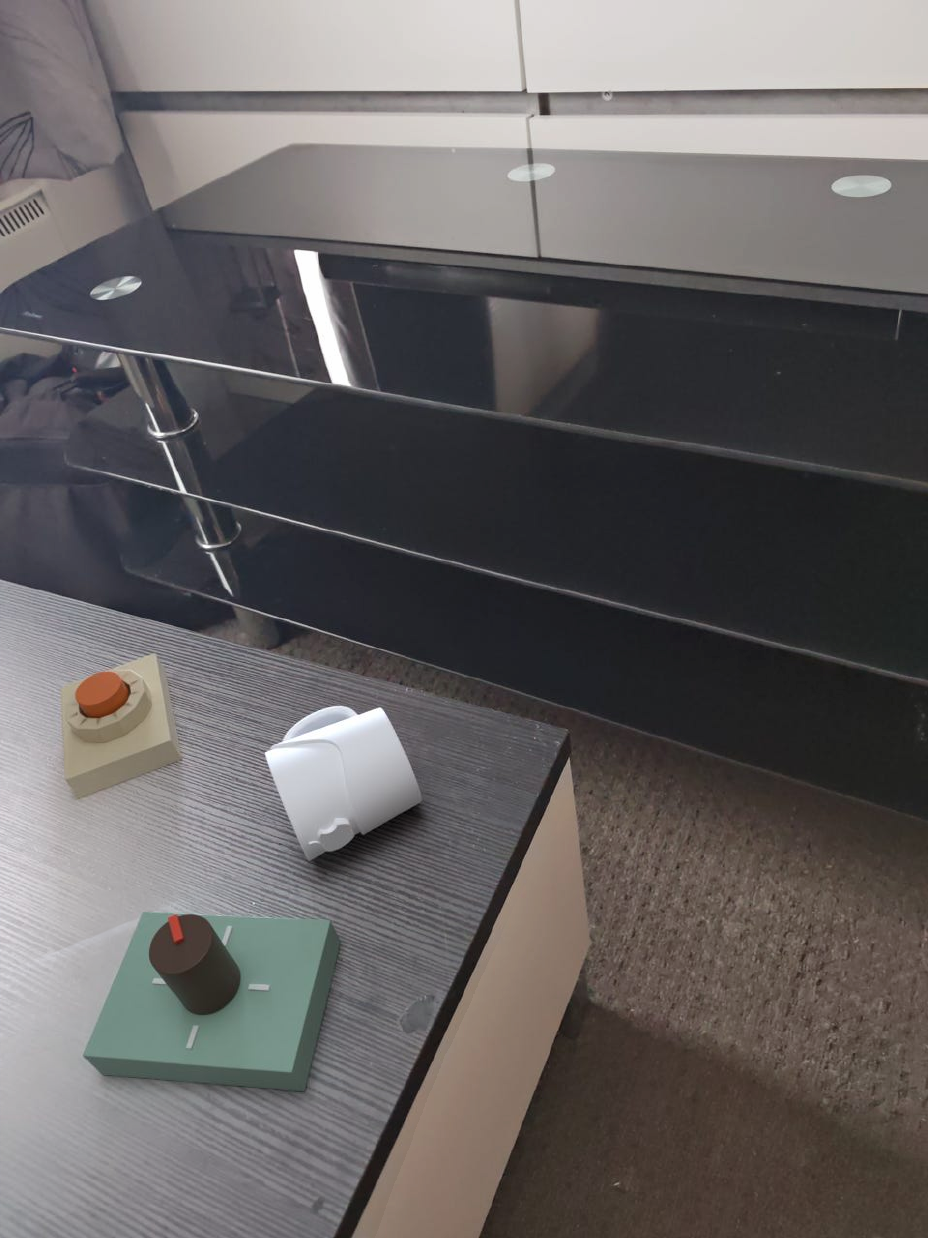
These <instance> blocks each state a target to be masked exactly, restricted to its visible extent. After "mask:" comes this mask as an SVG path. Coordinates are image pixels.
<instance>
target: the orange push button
mask: <svg viewBox="0 0 928 1238" xmlns="http://www.w3.org/2000/svg"><path fill="white" fill-rule="evenodd" d="M86 678H87V677H86ZM128 696H129V692H128V689H127V688H126V686H125V684H124V683H123V681H122V679H121V677H120V676H119V675H118V674H117V673H115V672H110V671H107V670H105V672H104V671H100V672H97V673H94V674H92V675H89V676H88V678H87V679H86V680H84V681H83V682H82V683H81V684H80V685H79V687H78V688H77V690H76V693H75V698H76V701H77V702H78V704H79V705H80V707H81V708H82V710H83V712H84V713H85V714H86V715H87V716H88V717H90V718H102V717H105V716H107V715H110V714H113V713H115V712H116V711H117V710H118V709H120V708H121V707H122V706H123V705H125V703H126V702H127V700H128Z"/></svg>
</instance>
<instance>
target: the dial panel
mask: <svg viewBox="0 0 928 1238" xmlns="http://www.w3.org/2000/svg"><path fill="white" fill-rule="evenodd" d="M175 914H177V916H180V915H184V914H185V913H179V912H157V911H155V912H154V911H143V912H142V913H141V915H140V918H139V921H138V923H137V925H136V927H135V930H134V932H133V934H132V936H131V937H132V938H131V940H130V942H129V944H128V946H127V949H126V952H125V954H124V956H123V959H122V961H121V964H120V966H119V969H118V971H117V973H116V975H115V978H114V980H113V983H112V985H111V987H110V990H109V992H108V994H107V996H106V999H105V1001H104V1004H103V1006H102V1009H101V1011H100V1014H99V1016H98V1018H97V1021H96V1023H95V1025H94V1027H93V1030H92V1033H91V1035H90V1037H89V1040H88V1042H87V1045H86V1047H85V1049H84V1052H83V1054H82V1057H83V1058H84V1059H85V1060H86V1061H87V1062H88V1063H89V1064H90V1065H91V1066H93V1068H95V1070H97V1072H98V1073H100V1074H101V1075H102V1076H114V1077H115V1076H116V1077H125V1078H139V1079H147V1080H149V1079H151V1080H161V1081H162V1080H163V1081H173V1082H186V1083H196V1084H198V1083H199V1084H207V1085H208V1084H211V1085H223V1086H233V1087H235V1086H236V1087H243V1088H245V1087H246V1088H258V1089H269V1090H270V1089H271V1090H281V1091H292V1092H305V1091H306V1088H307V1083H308V1080H309V1076H310V1071H311V1067H312V1064H313V1063H312V1062H313V1058H314V1056H315V1050H316V1047H317V1042H318V1039H319V1034H320V1030H321V1026H322V1021H323V1018H324V1013H325V1009H326V1006H327V1001H328V996H329V992H330V989H331V985H332V981H333V976H334V972H335V967H336V964H337V959H338V955H339V951H340V947H341V943H342V941H341V939H340V937H339V935H338V933H337V931H336V928H335V926H334V924H333V923H332V921H331V919H320V918H319V919H318V918H316V919H315V918H293V917H289V918H288V917H271V916H247V915H224V914H204V913H203V914H201V913H196V914H197V915H200V916H202V917H204V918H205V919H207V920H208V922H209V923H210V924H211V926H212V927H213V929H214V930H215V932H216V934H217V935H218V937H219V938H220V940H221V941H222V943H223V944H224V946H225V947H226V949H227V950H228V952H229V953H230V955H231V956H232V958H233V959H234V961H235V962H236V964H237V965H238V968H239V970H240V984H239V987H238V990H237V992H236V994H235V995H234V997H233V998H232V1000H231V1001H230V1002H229V1003H228V1004H227V1005H226V1006H224V1007H223V1008H222V1009H220V1010H218V1011H216V1012H214V1013H211V1014H207V1015H198V1014H194V1013H191V1012H190V1011H188V1010H187V1009H186V1008H185V1007H184V1006H183V1004H182V1003H181V1002H180V1001H179V999H178V998H177V997H176V995H175V994H174V993H173V992H172V990H171V989H170V988H169V987H168V985H167V984H166V983H165V982H164V980H163V979H162V978H161V976H160V975H159V974H158V973H157V971H156V970H155V969H154V968H153V966H152V965H151V963H150V960H149V947H150V944H151V941H152V939H153V937H154V935H155V934H156V932H157V931H158V930H159V929H160V928H161V927H162V926H163V925H164V924H165V923H166V922H168V918H169V917H171V916H173V915H175Z"/></svg>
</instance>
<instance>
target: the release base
mask: <svg viewBox="0 0 928 1238" xmlns="http://www.w3.org/2000/svg"><path fill="white" fill-rule="evenodd" d="M105 671H110V672H115V673H117V674H118V675H119V676H120V677H121V679H122V681H123V683H124V684H125V686H126V688H127V689H128V692H129V696H128V700H127V702H126V703H125V705H123V706H122V707H121V708H120V709H118V710H117V711H116V712H115V713H113V714H110V715H107V716H105V717H102V718H90V717H88V716H87V715H86V714H85V713H84V712H83V710H82V708H81V707H80V705H79V704H78V702H77V701H76V698H75V693H76V690H77V688H78V687H79V685H80V684H81V683H82V682H83V681H84V680H86V679H87V678H88V677H89V676H88V677H84V678H82V679H80V680H76V681H74V682H70V683H68V684H66V685H62V686H60V689H59V690H60V708H61V725H62V726H61V727H62V746H63V764H64V765H63V767H64V768H63V769H64V781H65V782H66V783H67V785H68V786H69V788H70V789H71V790H72V792H73V793H74V794H75V796H76V798H77V799H82V798H85V797H88V796H90V795H93V794H96V793H98V792H101V791H103V790H106V789H108V788H111V787H113V786H116V785H120V784H122V783H124V782H127V781H129V780H131V779H134V778H137V777H140V776H142V775H143V776H144V775H145V774H148V773H150V772H153V771H156V770H158V769H161V768H163V767H166V766H169V765H171V764H174V763H176V762H180V761H182V759H183V758H182V753H181V747H180V741H179V737H178V730H177V725H176V720H175V719H176V718H175V715H174V710H173V703H172V698H171V693H170V687H169V682H168V676H167V673H166V670H165V667H164V666H163V663H161V661H160V659H159V657H158V655H157V653H151V654H149V655H146V656H143V657H140V658H137V659H135V660H131V661H130V662H126V663H124V664H120V665H118V666H116V667H112V668H110V669H107V670H105ZM105 671H103V672H105Z"/></svg>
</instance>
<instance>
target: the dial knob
mask: <svg viewBox="0 0 928 1238" xmlns="http://www.w3.org/2000/svg"><path fill="white" fill-rule="evenodd" d="M183 914H184V915H180V916H177V914H175V915H173V916H171V917H169V918H168V922H166V923H165V924H164V925H163V926H162V927H161V928H160V929H159V930H158V931H157V932H156V934H155V935H154V937H153V939H152V941H151V944H150V947H149V960H150V963H151V965H152V966H153V968H154V969H155V970H156V971H157V973H158V974H159V975H160V976H161V978H162V979H163V980H164V982H165V983H166V984H167V985H168V987H169V988H170V989H171V990H172V992H173V993H174V994H175V995H176V997H177V998H178V999H179V1001H180V1002H181V1003H182V1004H183V1006H184V1007H185V1008H186V1009H187V1010H188V1011H190V1012H191V1013H194V1014H198V1015H207V1014H211V1013H214V1012H216V1011H218V1010H220V1009H222V1008H223V1007H224V1006H226V1005H227V1004H228V1003H229V1002H230V1001H231V1000H232V998H233V997H234V995H235V994H236V992H237V990H238V987H239V984H240V970H239V968H238V965H237V964H236V962H235V961H234V959H233V958H232V956H231V955H230V953H229V952H228V950H227V949H226V947H225V946H224V944H223V943H222V941H221V940H220V938H219V937H218V935H217V934H216V932H215V930H214V929H213V927H212V926H211V924H210V923H209V922H208V920H207V919H205V918H204V917H202V916H200V915H197V914H198V913H183Z"/></svg>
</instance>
